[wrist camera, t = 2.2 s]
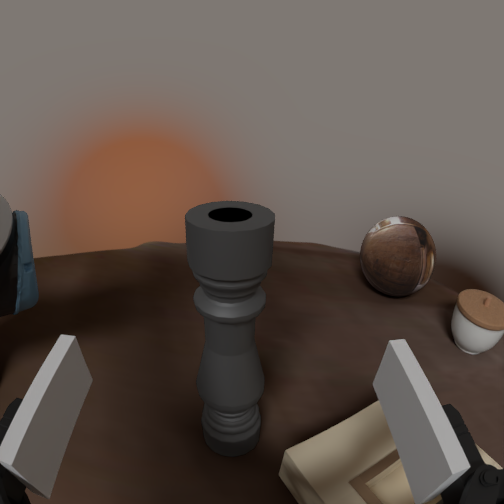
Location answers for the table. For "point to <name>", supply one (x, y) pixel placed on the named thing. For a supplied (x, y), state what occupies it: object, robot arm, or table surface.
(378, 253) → the clear glass sphere
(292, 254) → the table surface
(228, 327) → the candle holder
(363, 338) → the table surface
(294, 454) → the socket block
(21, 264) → the robot arm
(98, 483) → the table surface
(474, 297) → the lidded jar
